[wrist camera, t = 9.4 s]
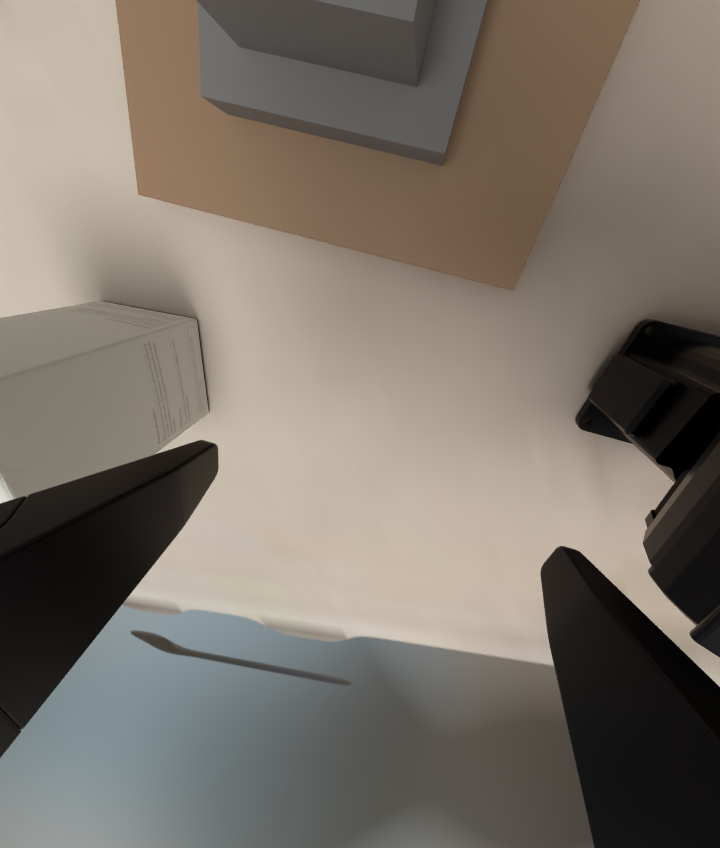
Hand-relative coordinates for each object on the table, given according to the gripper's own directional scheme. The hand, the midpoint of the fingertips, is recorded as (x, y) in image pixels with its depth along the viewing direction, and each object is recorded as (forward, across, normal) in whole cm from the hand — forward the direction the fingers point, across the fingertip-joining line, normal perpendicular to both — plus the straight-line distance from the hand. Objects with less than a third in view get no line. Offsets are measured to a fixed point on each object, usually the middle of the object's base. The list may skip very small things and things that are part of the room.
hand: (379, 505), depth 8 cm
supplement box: (+13, +17, +5) cm, 22 cm away
